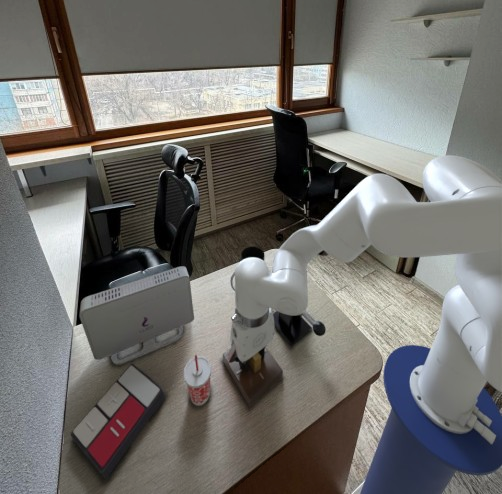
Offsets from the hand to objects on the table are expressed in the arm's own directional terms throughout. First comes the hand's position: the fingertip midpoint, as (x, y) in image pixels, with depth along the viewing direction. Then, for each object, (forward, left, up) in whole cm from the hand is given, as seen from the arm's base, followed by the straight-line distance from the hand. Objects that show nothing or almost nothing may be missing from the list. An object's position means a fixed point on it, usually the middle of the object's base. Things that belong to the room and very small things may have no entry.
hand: (251, 360), depth 67 cm
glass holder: (+19, -12, -4) cm, 23 cm away
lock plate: (0, 0, -4) cm, 4 cm away
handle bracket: (+3, -16, -4) cm, 17 cm away
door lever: (-2, -16, +5) cm, 17 cm away
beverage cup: (+3, +13, -4) cm, 14 cm away
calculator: (+9, +29, -4) cm, 31 cm away
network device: (+24, +19, -4) cm, 31 cm away
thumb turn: (0, 0, -1) cm, 1 cm away
